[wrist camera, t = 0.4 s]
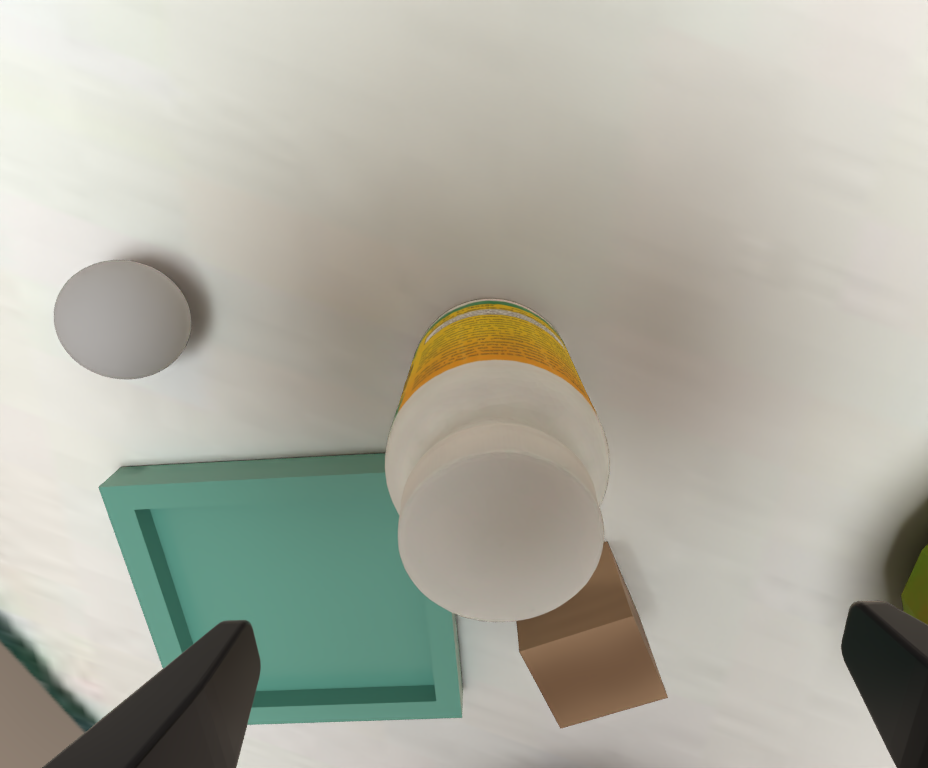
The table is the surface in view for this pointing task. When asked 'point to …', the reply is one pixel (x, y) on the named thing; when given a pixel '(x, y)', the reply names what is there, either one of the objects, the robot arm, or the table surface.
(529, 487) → the supplement bottle
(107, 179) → the table surface
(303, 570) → the tray
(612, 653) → the walnut cube
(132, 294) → the grey ball
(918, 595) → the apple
